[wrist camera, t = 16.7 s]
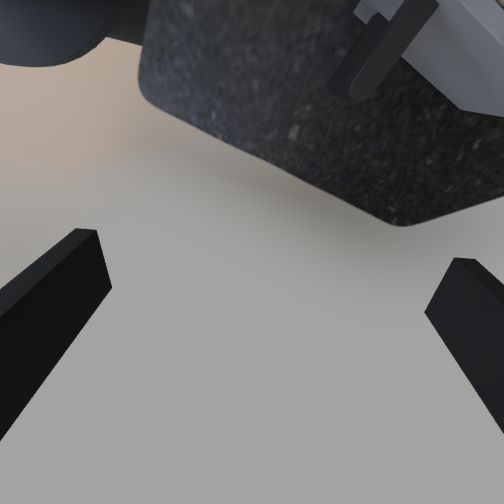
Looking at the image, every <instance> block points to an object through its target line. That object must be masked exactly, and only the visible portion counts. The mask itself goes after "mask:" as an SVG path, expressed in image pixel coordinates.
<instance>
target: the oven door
mask: <svg viewBox="0 0 504 504" xmlns="http://www.w3.org/2000/svg"><path fill="white" fill-rule="evenodd" d="M353 13H354V14H355V15H356V16H357V17H358V18H359V19H360V20H361V21H363V22H364V23H365V24H366V26H365V27H364V29H363V30H362V32H361V33H360V35H359V36H358V38H357V39H356V41H355V42H354V44H353V45H352V47H351V48H350V50H349V51H348V53H347V54H346V56H345V57H344V59H343V60H342V62H341V63H340V65H339V66H338V68H337V69H336V71H335V72H334V74H333V75H332V77H331V78H330V80H329V82H328V85H327V89H328V92H329V93H330V94H331V95H334V96H338V97H342V98H346V99H350V100H354V101H357V102H362V101H365V100H367V99H368V98H369V97H370V96H371V95H372V94H373V92H374V91H375V90H376V88H377V87H378V86H379V84H380V83H381V82H382V80H383V79H384V78H385V76H386V75H387V74H388V72H389V71H390V70H391V68H392V67H393V66H394V64H395V63H396V62H397V61H398V59H399V58H400V57H402V58H404V59H405V60H406V61H407V62H408V63H409V64H410V65H411V66H412V67H414V68H415V69H416V70H417V71H418V72H419V73H420V74H421V75H422V76H424V77H425V78H426V79H427V80H428V81H429V82H430V83H431V84H432V85H433V86H435V87H436V88H437V89H438V90H439V91H440V92H441V93H442V94H443V95H445V96H446V97H447V98H448V99H449V100H450V101H451V102H452V103H453V104H455V105H456V106H457V107H458V108H459V109H460V110H465V111H471V112H477V113H483V114H489V115H495V116H501V117H504V10H503V9H502V8H501V6H500V5H499V4H498V3H497V2H496V1H495V0H361V1H360V2H359V4H358V5H357V7H356V8H355V10H354V12H353Z"/></svg>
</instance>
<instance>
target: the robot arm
mask: <svg viewBox="0 0 504 504" xmlns="http://www.w3.org/2000/svg"><path fill="white" fill-rule="evenodd" d="M111 288H112V285H111V281H110V278H109V274H108V271H107V267H106V263H105V259H104V256H103V252H102V248H101V245H100V241H99V238H98V234H97V230H91V229H79V228H76V229H74V230H73V231H72V232H71V233H69V234H68V235H67V236H66V237H64V238H63V239H62V240H61V241H60V242H58V243H57V244H56V245H55V246H53V247H52V248H51V249H49V250H48V251H47V252H46V253H45V254H43V255H42V256H41V257H40V258H38V259H37V260H36V261H35V262H34V263H32V264H31V265H30V266H28V267H27V268H26V269H25V270H23V271H22V272H21V273H20V274H18V275H17V276H16V277H15V278H13V279H12V280H11V281H10V282H9V283H7V284H6V285H5V286H4V287H2V288H1V289H0V441H1V440H2V438H3V437H4V435H5V434H6V433H7V431H8V430H9V428H10V427H11V425H12V424H13V423H14V422H15V420H16V419H17V418H18V416H19V415H20V413H21V412H22V411H23V409H24V408H25V407H26V405H27V404H28V402H29V401H30V399H31V398H32V397H33V396H34V394H35V393H36V391H37V390H38V389H39V387H40V386H41V385H42V383H43V382H44V381H45V379H46V378H47V376H48V375H49V374H50V372H51V371H52V369H53V368H54V367H55V365H56V364H57V363H58V361H59V360H60V359H61V357H62V356H63V354H64V353H65V352H66V350H67V349H68V348H69V346H70V345H71V343H72V342H73V341H74V339H75V338H76V337H77V335H78V334H79V332H80V331H81V330H82V328H83V327H84V325H85V324H86V323H87V321H88V320H89V319H90V317H91V316H92V315H93V313H94V312H95V310H96V309H97V308H98V306H99V305H100V303H101V302H102V301H103V299H104V298H105V297H106V295H107V294H108V293H109V291H110V290H111ZM424 313H425V314H426V316H427V317H428V319H429V320H430V322H431V323H432V325H433V326H434V328H435V329H436V331H437V332H438V334H439V336H440V337H441V338H442V340H443V342H444V343H445V345H446V346H447V348H448V349H449V351H450V352H451V354H452V355H453V357H454V358H455V360H456V362H457V363H458V365H459V366H460V368H461V369H462V371H463V372H464V374H465V375H466V377H467V378H468V380H469V381H470V383H471V384H472V386H473V388H474V389H475V391H476V392H477V394H478V395H479V397H480V398H481V399H482V401H483V403H484V404H485V405H486V407H487V409H488V410H489V412H490V414H491V415H492V416H493V418H494V419H495V421H496V423H497V424H498V426H499V427H500V429H501V430H502V432H503V433H504V285H503V284H502V283H501V282H500V281H499V280H498V279H496V277H495V276H493V275H492V274H491V273H490V272H489V271H488V270H487V269H486V268H485V267H483V266H482V265H481V264H480V263H479V262H478V261H477V260H476V259H468V258H454V259H453V260H452V262H451V264H450V266H449V268H448V269H447V271H446V273H445V275H444V277H443V279H442V281H441V282H440V284H439V286H438V288H437V290H436V292H435V293H434V295H433V297H432V299H431V301H430V303H429V304H428V306H427V308H426V310H425V312H424Z"/></svg>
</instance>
